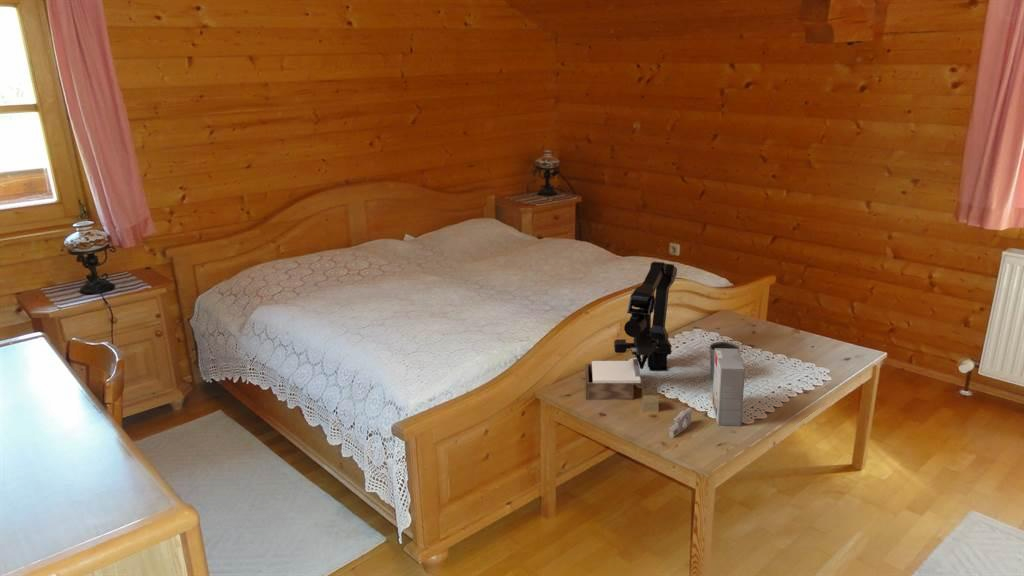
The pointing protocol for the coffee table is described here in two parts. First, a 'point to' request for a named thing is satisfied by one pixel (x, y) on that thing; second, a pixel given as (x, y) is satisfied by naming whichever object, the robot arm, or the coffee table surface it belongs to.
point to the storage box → (606, 388)
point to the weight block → (650, 400)
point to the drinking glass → (712, 353)
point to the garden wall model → (681, 422)
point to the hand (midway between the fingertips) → (641, 368)
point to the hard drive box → (728, 386)
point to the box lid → (616, 371)
